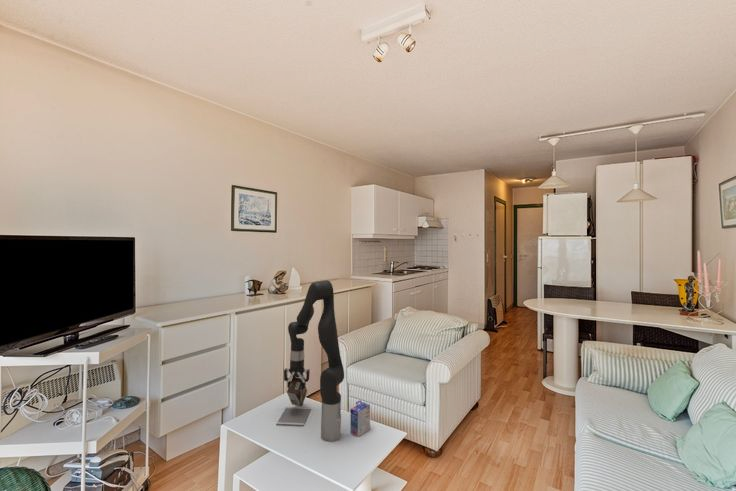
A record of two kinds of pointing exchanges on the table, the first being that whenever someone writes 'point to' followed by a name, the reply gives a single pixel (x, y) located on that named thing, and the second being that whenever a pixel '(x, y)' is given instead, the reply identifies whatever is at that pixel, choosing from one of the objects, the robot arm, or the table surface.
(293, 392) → the coffee box
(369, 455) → the table surface
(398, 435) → the table surface
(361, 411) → the ink cartridge box
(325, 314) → the robot arm
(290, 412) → the mat
